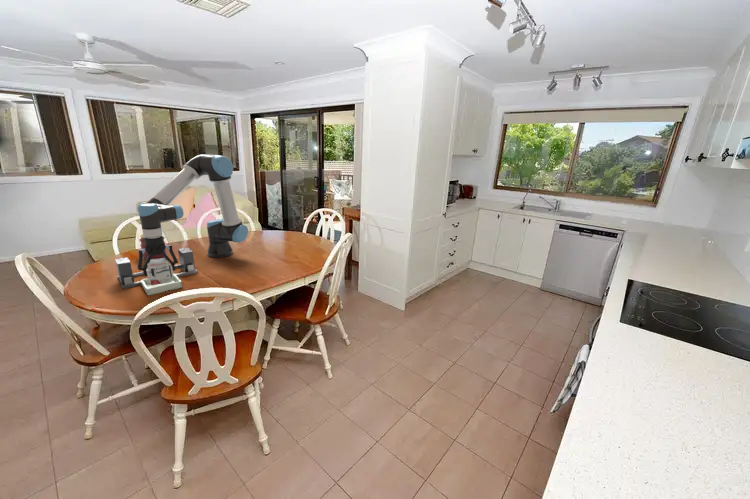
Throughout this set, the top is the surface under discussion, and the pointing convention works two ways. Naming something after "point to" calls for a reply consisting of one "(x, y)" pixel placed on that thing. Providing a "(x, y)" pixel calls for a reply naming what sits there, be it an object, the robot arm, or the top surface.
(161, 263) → the ink box
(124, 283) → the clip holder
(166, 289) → the tray
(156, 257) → the canister
